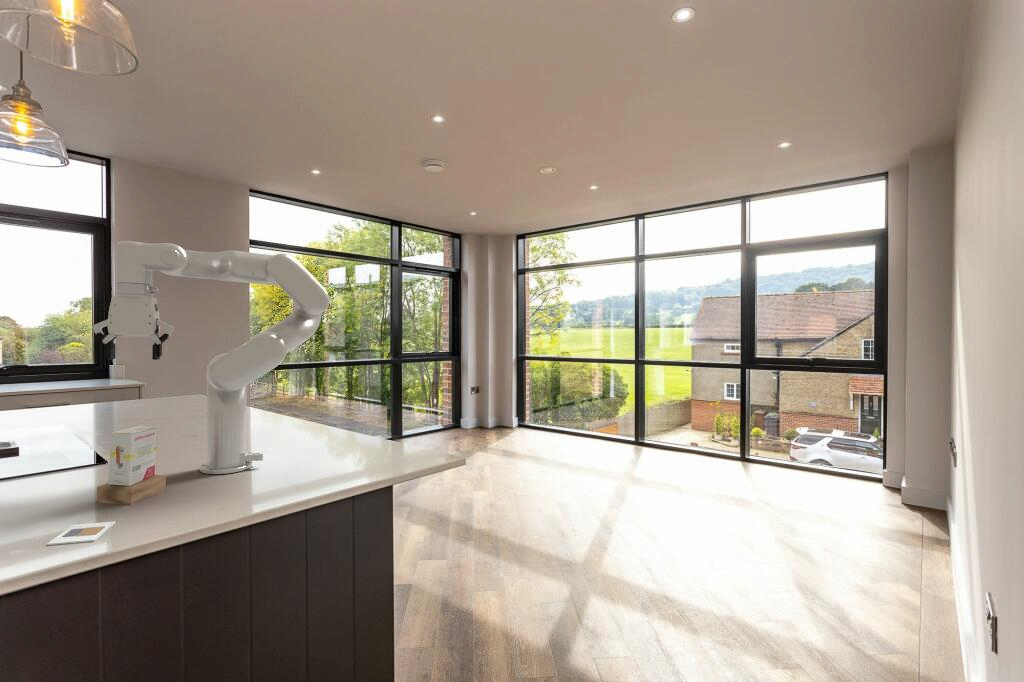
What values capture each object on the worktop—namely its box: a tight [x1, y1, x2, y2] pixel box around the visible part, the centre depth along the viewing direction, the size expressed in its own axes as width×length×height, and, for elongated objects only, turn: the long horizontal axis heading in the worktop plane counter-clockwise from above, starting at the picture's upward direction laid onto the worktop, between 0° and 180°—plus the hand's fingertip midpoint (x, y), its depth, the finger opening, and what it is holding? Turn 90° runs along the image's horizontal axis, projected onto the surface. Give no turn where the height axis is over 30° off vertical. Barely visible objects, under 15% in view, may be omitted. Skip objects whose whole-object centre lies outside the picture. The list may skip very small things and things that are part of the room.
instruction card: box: [46, 520, 117, 546], centre depth 96 cm, size 7×9×1 cm
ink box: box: [107, 425, 158, 486], centre depth 117 cm, size 9×5×12 cm, turn 0°
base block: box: [96, 474, 167, 505], centre depth 117 cm, size 8×10×4 cm
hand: (133, 359), depth 129 cm, fingers open, 9 cm apart
